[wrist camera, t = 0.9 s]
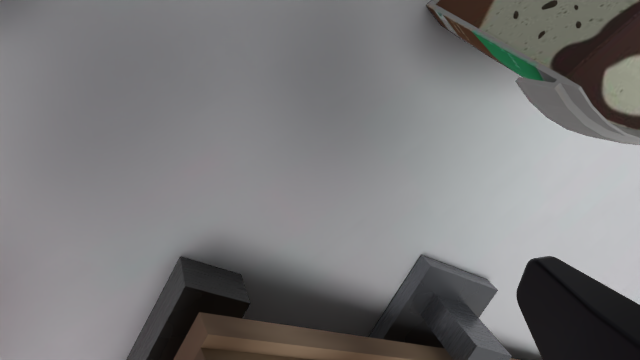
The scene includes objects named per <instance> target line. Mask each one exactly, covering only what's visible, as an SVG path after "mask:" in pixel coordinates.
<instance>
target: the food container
mask: <svg viewBox="0 0 640 360" xmlns="http://www.w3.org/2000/svg"><path fill="white" fill-rule="evenodd" d="M426 6H427V7H428V9H429V10H430V11H431V13H432V14H433V15H434V17H435V18H436V19H437V21H438V22H439V23H440V25H441V26H443V27H444V28H446V29H447V30H449V31H450V32H452V33H453V34H455V35H456V36H458V37H459V38H461V39H462V40H464V41H465V42H467V43H468V44H470V45H472V46H473V47H475V48H477V49H478V50H480V51H481V52H483V53H485V54H486V55H488V56H490V57H491V58H493V59H494V60H496V61H498V62H499V63H501V64H503V65H504V66H506V67H507V68H509V69H511V70H512V71H514V72H516V73H517V74H519V75H520V76H522V77H524V78H520V77H518V79H517V80H516V83H517V84H518V86H519V87H520V88H521V90H522V91H523V93H524V94H525V95H526V97H527V98H528V100H529V101H530V102H531V103H532V104H533V105H534V106H535V107H536V108H537V109H538V110H539V111H541V112H542V113H543V114H544V115H545V116H546V117H547V118H549V119H550V120H552V121H554V122H555V123H557V124H559V125H560V126H562V127H564V128H565V129H567V130H571V131H574V132H577V133H580V134H583V135H586V136H590V137H595V138H599V139H604V140H609V141H614V142H619V143H624V144H633V145H640V0H432V1H430V2H429V3H428V4H427V5H426Z"/></svg>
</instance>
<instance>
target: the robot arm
mask: <svg viewBox="0 0 640 360" xmlns="http://www.w3.org/2000/svg"><path fill="white" fill-rule="evenodd" d="M517 301H518V304H519V307H520V309H521V311H522V314H523V316H524V318H525V321H526V323H527V325H528V327H529V330H530V332H531V334H532V336H533V339H534V341H535V343H536V346H537V348H538V350H539V352H540V355H541V357H542V359H543V360H640V305H639V304H637V303H635V302H634V301H632V300H630V299H628V298H627V297H625V296H623V295H621V294H619V293H618V292H616V291H614V290H612V289H611V288H609V287H607V286H605V285H603V284H602V283H600V282H598V281H596V280H595V279H593V278H591V277H589V276H587V275H586V274H584V273H582V272H580V271H579V270H577V269H575V268H573V267H571V266H570V265H568V264H566V263H564V262H563V261H561V260H559V259H557V258H555V257H552V256H546V257H540V258H534V259H531V260H530V261H529V262H528V263H527V265H526V268H525V270H524V273H523V275H522V278H521V281H520V283H519V286H518V288H517Z"/></svg>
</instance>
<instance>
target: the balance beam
mask: <svg viewBox="0 0 640 360" xmlns="http://www.w3.org/2000/svg"><path fill="white" fill-rule="evenodd" d="M173 360H453V359H452V357H451V356H450V355H449V353H448V352H447V351H446V349H445V348H438V347H431V346H424V345H418V344H411V343H404V342H397V341H391V340H384V339H377V338H370V337H364V336H357V335H350V334H343V333H337V332H330V331H323V330H316V329H310V328H303V327H296V326H289V325H283V324H276V323H269V322H262V321H255V320H249V319H242V318H235V317H228V316H222V315H215V314H208V313H201V312H199V313H198V315H197V317H196V319H195V321H194V323H193V324H192V326H191V328H190V330H189V332H188V334H187V335H186V337H185V339H184V341H183V343H182V345H181V346H180V348H179V350H178V352H177V354H176V356H175V357H174V359H173ZM510 360H519V359H512V358H510Z"/></svg>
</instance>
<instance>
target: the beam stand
mask: <svg viewBox="0 0 640 360" xmlns="http://www.w3.org/2000/svg"><path fill="white" fill-rule="evenodd" d="M497 291H498V290H497V289H496V288H495V287H494V286H493V285H492V284H491V283H490V282H489V281H488V280H487V279H484V278H482V277H479V276H476V275H474V274H471V273H468V272H466V271H463V270H460V269H458V268H455V267H452V266H450V265H447V264H444V263H442V262H439V261H436V260H434V259H431V258H428V257H426V256H423V255H421V257H420V258H419V260H418V261H417V263H416V264H415V266H414V267H413V269H412V270H411V272H410V273H409V275H408V277H407V278H406V280H405V281H404V283H403V284H402V286H401V287H400V289H399V290H398V292H397V294H396V295H395V297H394V298H393V300H392V301H391V303H390V304H389V306H388V307H387V309H386V311H385V312H384V314H383V315H382V317H381V318H380V320H379V321H378V323H377V324H376V326H375V327H374V329H373V331H372V332H371V334H370V335H369V337H370V338H377V339H384V340H391V341H397V342H404V343H411V344H418V345H424V346H431V347H438V348H445V349H446V351H447V352H448V353H449V355H450V356H451V357H452V359H453V360H510V358H511V357H512V356H511V355H510V354H509V352H508V351H507V350H506V349H505V348H504V347H503V345H502V344H501V343H500V342H499V341H498V340H497V339H496V337H495V336H494V335H493V334H492V333H491V332H490V331H489V329H488V328H487V327H486V326H485V325H484V324H483V323H482V321H481V320H480V319H479V317H480V315H481V314H482V312H483V311H484V309H485V308H486V307H487V305H488V304H489V302H490V301H491V299H492V298H493V297H494V295H495V294H496V292H497ZM249 305H250V301H249V298H248V295H247V292H246V289H245V286H244V283H243V279H242V276H241V274H238V273H234V272H231V271H227V270H224V269H220V268H217V267H214V266H210V265H207V264H203V263H200V262H196V261H193V260H190V259H186V258H183V257H180V258H179V260H178V262H177V264H176V266H175V268H174V269H173V271H172V273H171V275H170V277H169V279H168V281H167V283H166V285H165V287H164V289H163V291H162V293H161V294H160V296H159V298H158V300H157V302H156V304H155V306H154V308H153V310H152V312H151V314H150V316H149V317H148V319H147V321H146V323H145V325H144V327H143V329H142V331H141V333H140V335H139V337H138V339H137V341H136V342H135V344H134V346H133V348H132V350H131V352H130V354H129V356H128V358H127V360H173V359H174V357H175V356H176V354H177V352H178V350H179V348H180V346H181V345H182V343H183V341H184V339H185V337H186V335H187V334H188V332H189V330H190V328H191V326H192V324H193V323H194V321H195V319H196V317H197V315H198V313H199V312H201V313H208V314H215V315H222V316H228V317H235V318H242V317H243V316H244V314H245V312H246V310H247V309H248V307H249Z"/></svg>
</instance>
